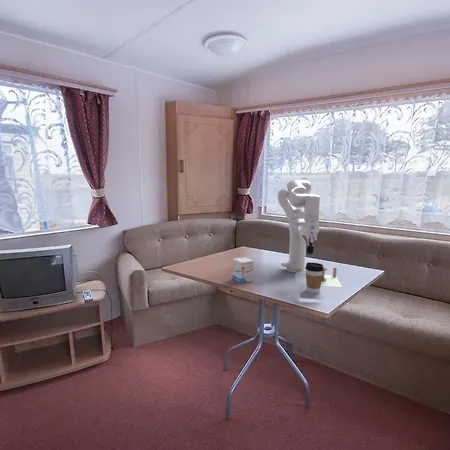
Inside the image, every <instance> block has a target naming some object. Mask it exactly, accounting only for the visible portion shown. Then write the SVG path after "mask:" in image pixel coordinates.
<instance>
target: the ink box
mask: <svg viewBox="0 0 450 450" xmlns="http://www.w3.org/2000/svg"><path fill="white" fill-rule="evenodd" d="M232 280H234V281H235V280H236V282H238V283H239V284H243V283H244V282H245V283H249V282H253V281H254V260H253V259H251V258H249V257H247V256H245V257H236V258H235V257H234V258H233V259H232Z"/></svg>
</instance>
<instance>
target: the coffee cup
mask: <svg viewBox="0 0 450 450" xmlns="http://www.w3.org/2000/svg"><path fill="white" fill-rule="evenodd" d="M323 267H324V265H323V264H322V263H318V262H312V261H311V262H310V261H309V262H308V261H307V262H306V263H305V268H306V272H305V279H306V281H305V282H306V291H307V292H308V293H310V294H318V293H320V292H321V291H320V290H321V287H322V286H321V281H322V275H323V274H322V272H323V269H324V268H323Z"/></svg>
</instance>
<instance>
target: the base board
mask: <svg viewBox="0 0 450 450" xmlns="http://www.w3.org/2000/svg"><path fill="white" fill-rule="evenodd" d="M324 278H326V281H324V282H321V287H333V288H343V286H342V284H341V282H340V280H339V279H338V276H336V277H333V274H332V275H331V274H325V275H324Z"/></svg>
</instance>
